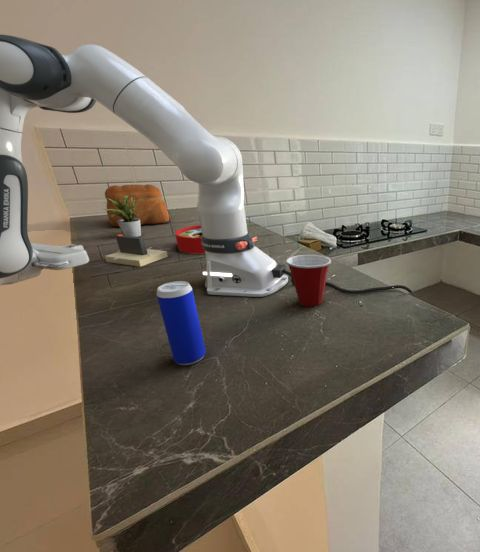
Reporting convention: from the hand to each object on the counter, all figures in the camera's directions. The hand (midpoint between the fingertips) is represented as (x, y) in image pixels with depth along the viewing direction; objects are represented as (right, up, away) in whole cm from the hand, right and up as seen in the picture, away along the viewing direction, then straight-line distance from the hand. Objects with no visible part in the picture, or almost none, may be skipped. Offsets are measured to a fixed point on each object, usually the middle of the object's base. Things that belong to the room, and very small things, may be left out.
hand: (79, 247), depth 93 cm
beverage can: (+53, -24, -32) cm, 67 cm away
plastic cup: (+70, -15, -9) cm, 72 cm away
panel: (+7, -3, +13) cm, 15 cm away
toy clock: (+21, +3, +29) cm, 36 cm away
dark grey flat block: (+6, -1, +12) cm, 14 cm away
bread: (-26, +16, +55) cm, 62 cm away
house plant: (-15, +8, +37) cm, 41 cm away
